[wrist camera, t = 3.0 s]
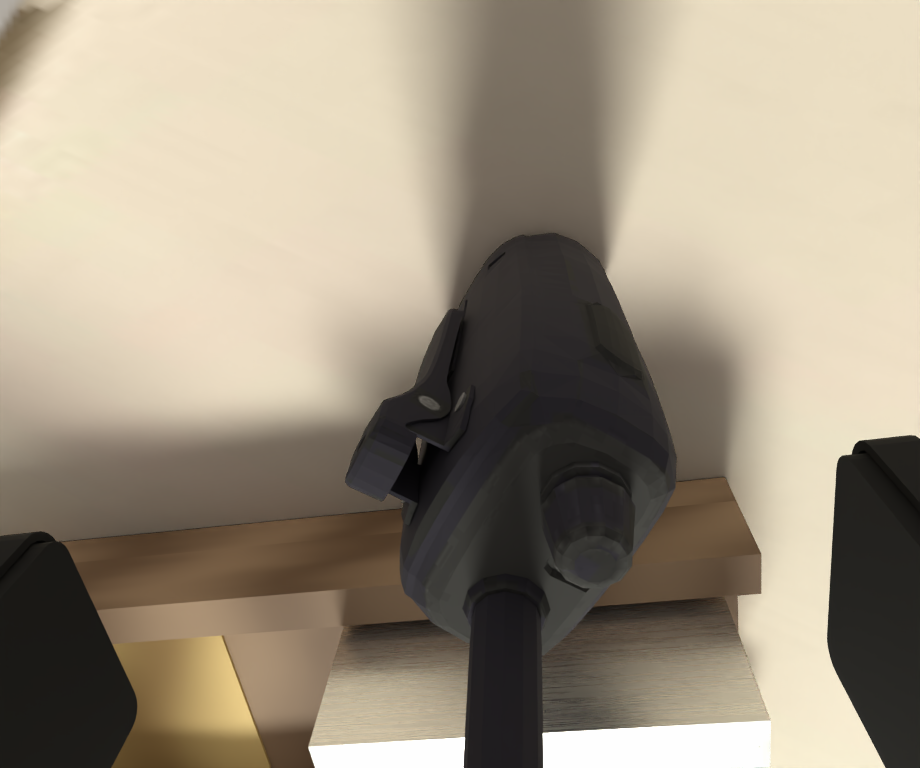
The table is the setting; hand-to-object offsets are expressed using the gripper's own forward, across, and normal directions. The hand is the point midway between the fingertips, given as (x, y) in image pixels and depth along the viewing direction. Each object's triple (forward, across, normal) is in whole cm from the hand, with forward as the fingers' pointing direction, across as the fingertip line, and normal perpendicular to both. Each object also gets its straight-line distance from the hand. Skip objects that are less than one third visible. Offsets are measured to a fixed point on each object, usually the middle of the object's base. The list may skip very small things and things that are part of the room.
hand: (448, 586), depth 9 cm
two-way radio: (+12, -1, +1) cm, 12 cm away
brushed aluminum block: (+10, 0, +12) cm, 15 cm away
